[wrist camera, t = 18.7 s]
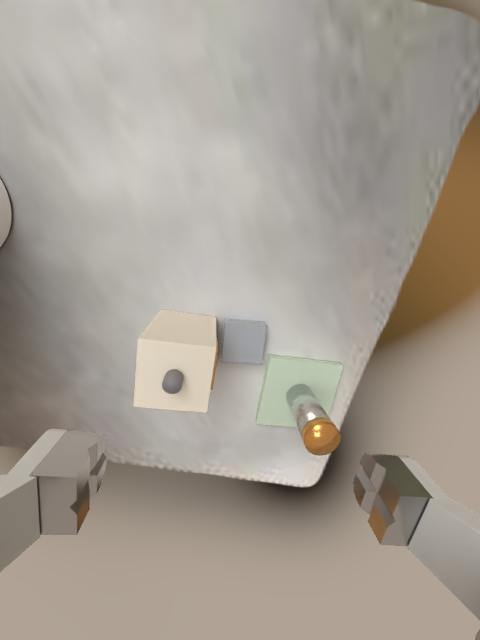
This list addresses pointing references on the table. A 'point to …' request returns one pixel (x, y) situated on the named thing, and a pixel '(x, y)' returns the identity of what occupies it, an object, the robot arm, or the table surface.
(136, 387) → the box
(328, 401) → the pad
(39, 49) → the table surface
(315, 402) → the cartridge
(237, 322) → the cover plate
